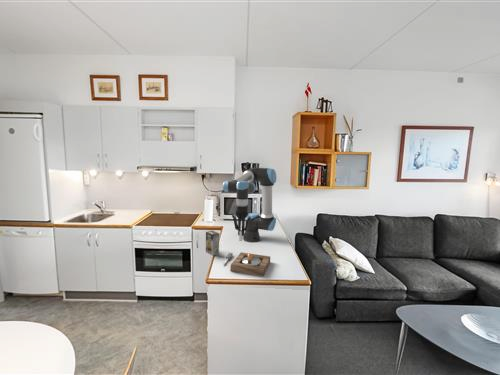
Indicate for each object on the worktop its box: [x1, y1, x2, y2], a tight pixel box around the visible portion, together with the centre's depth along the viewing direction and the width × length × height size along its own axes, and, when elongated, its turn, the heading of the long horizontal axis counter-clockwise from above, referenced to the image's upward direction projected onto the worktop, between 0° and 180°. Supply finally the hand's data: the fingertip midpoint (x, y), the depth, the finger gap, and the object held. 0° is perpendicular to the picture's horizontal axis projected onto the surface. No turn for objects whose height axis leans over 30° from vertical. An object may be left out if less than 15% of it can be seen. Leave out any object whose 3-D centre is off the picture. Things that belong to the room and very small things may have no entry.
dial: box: [242, 253, 261, 266], centre depth 173 cm, size 13×13×8 cm
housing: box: [230, 251, 271, 277], centre depth 174 cm, size 22×22×5 cm
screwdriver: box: [222, 252, 234, 265], centre depth 182 cm, size 17×3×2 cm, turn 168°
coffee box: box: [205, 230, 220, 256], centre depth 193 cm, size 9×6×16 cm
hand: (240, 240), depth 169 cm, fingers closed
